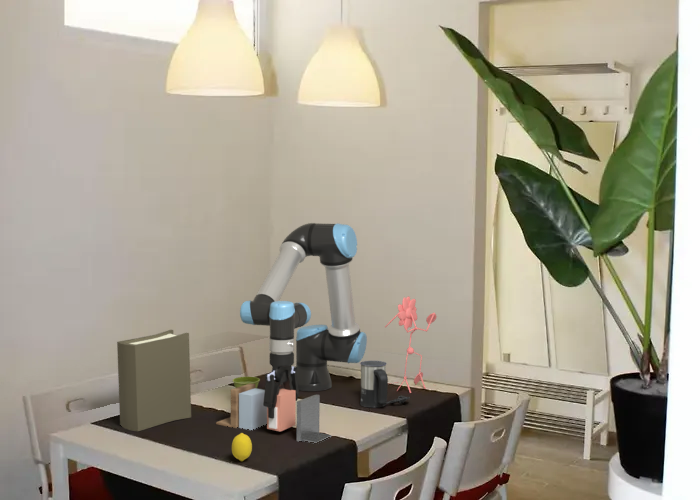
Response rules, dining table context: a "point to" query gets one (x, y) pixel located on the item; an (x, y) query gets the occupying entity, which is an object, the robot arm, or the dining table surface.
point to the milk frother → (375, 385)
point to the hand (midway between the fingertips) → (281, 424)
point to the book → (154, 380)
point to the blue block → (252, 409)
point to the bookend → (309, 420)
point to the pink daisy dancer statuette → (406, 318)
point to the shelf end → (235, 406)
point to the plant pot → (245, 381)
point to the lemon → (241, 447)
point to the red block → (285, 410)
